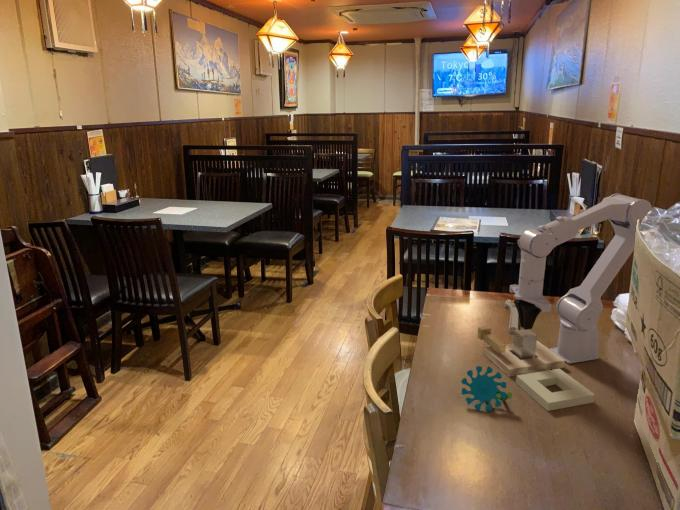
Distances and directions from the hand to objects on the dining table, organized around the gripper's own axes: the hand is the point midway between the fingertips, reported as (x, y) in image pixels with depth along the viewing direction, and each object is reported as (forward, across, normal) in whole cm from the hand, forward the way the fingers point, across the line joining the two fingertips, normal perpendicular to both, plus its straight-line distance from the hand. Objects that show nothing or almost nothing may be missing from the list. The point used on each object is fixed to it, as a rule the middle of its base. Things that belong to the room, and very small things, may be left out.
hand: (526, 327), depth 129 cm
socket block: (+9, 0, 0) cm, 9 cm away
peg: (+9, 0, 0) cm, 9 cm away
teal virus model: (+10, +15, -20) cm, 26 cm away
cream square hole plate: (+9, +15, -2) cm, 18 cm away
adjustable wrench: (+10, -26, +14) cm, 31 cm away
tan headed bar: (+6, -5, -6) cm, 10 cm away
